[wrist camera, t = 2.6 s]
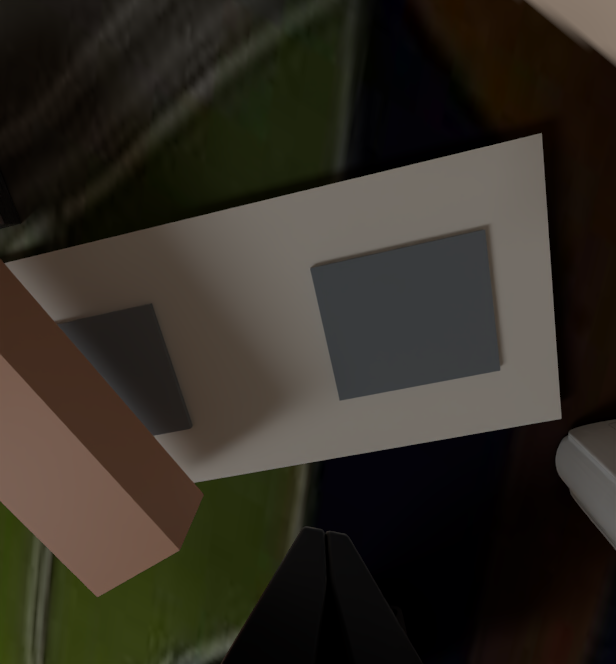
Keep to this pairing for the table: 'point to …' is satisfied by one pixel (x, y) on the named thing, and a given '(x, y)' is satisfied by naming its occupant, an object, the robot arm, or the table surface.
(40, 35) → the table surface
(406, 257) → the panel
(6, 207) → the dark plate
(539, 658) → the table surface
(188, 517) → the cable arm
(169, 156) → the table surface
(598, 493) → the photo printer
